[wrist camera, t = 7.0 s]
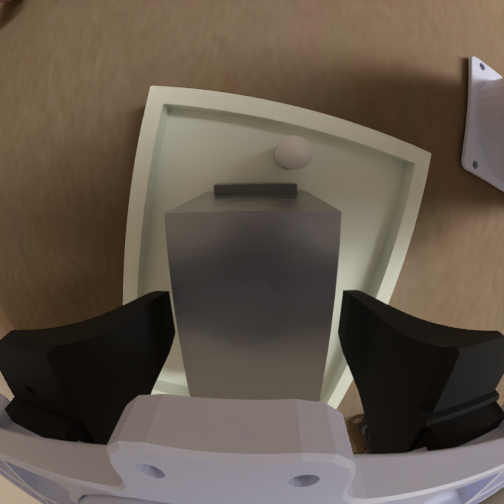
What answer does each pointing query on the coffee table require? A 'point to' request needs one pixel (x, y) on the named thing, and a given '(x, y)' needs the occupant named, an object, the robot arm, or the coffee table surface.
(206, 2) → the coffee table surface
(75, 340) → the robot arm
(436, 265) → the coffee table surface
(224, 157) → the pin tray
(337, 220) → the block
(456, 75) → the coffee table surface
